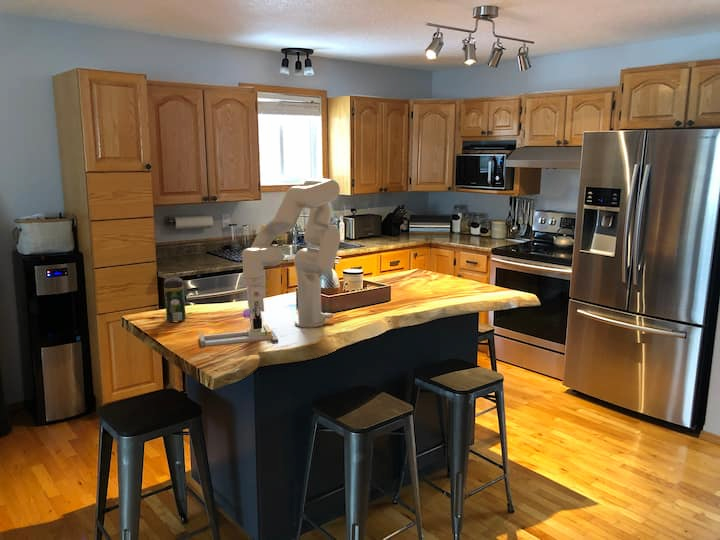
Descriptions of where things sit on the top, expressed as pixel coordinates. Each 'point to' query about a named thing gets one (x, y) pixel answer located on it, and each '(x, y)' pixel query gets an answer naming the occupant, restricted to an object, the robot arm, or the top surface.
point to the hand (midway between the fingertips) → (255, 325)
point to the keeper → (254, 332)
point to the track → (235, 338)
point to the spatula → (246, 313)
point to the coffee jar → (174, 299)
